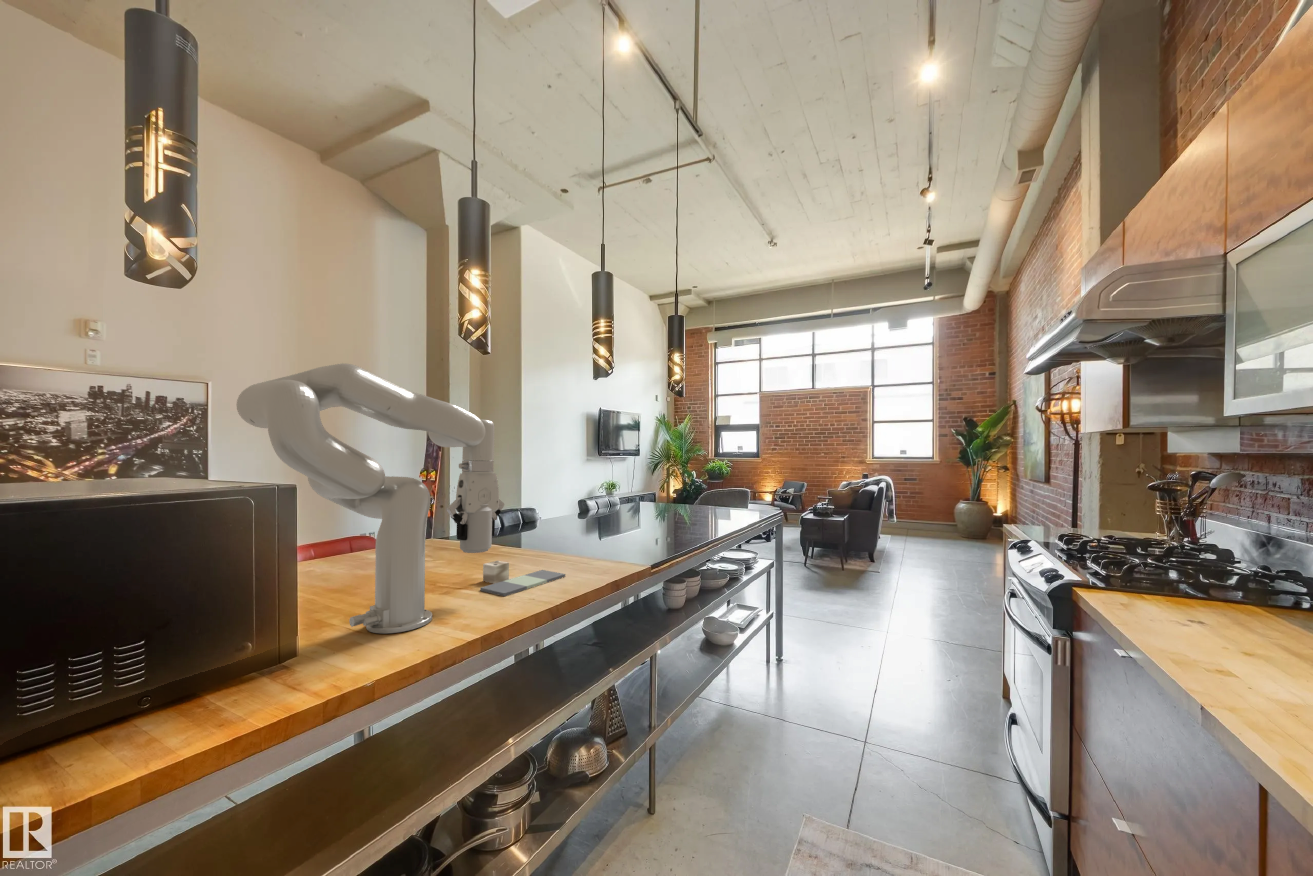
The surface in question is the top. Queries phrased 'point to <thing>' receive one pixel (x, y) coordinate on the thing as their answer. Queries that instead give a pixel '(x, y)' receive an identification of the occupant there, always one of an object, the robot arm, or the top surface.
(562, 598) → the top surface
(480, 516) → the can
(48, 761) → the top surface
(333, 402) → the robot arm
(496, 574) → the die
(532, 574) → the board
